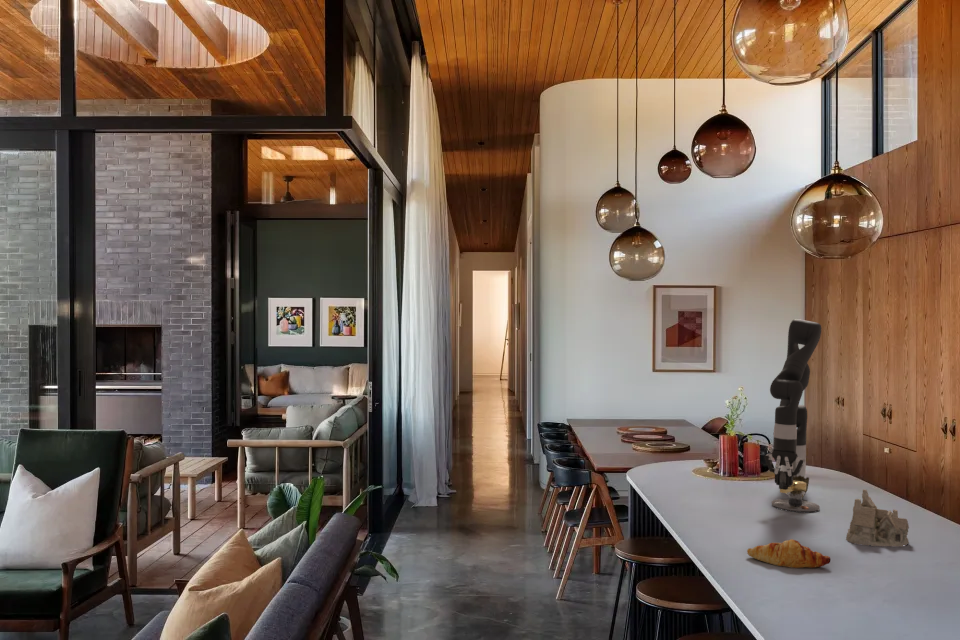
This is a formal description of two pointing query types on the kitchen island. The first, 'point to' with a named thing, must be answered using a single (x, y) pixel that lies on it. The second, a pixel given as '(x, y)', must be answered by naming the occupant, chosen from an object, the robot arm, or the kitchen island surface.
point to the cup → (801, 478)
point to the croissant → (788, 555)
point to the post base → (795, 503)
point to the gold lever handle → (794, 487)
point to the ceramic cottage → (876, 525)
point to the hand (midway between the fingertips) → (783, 485)
